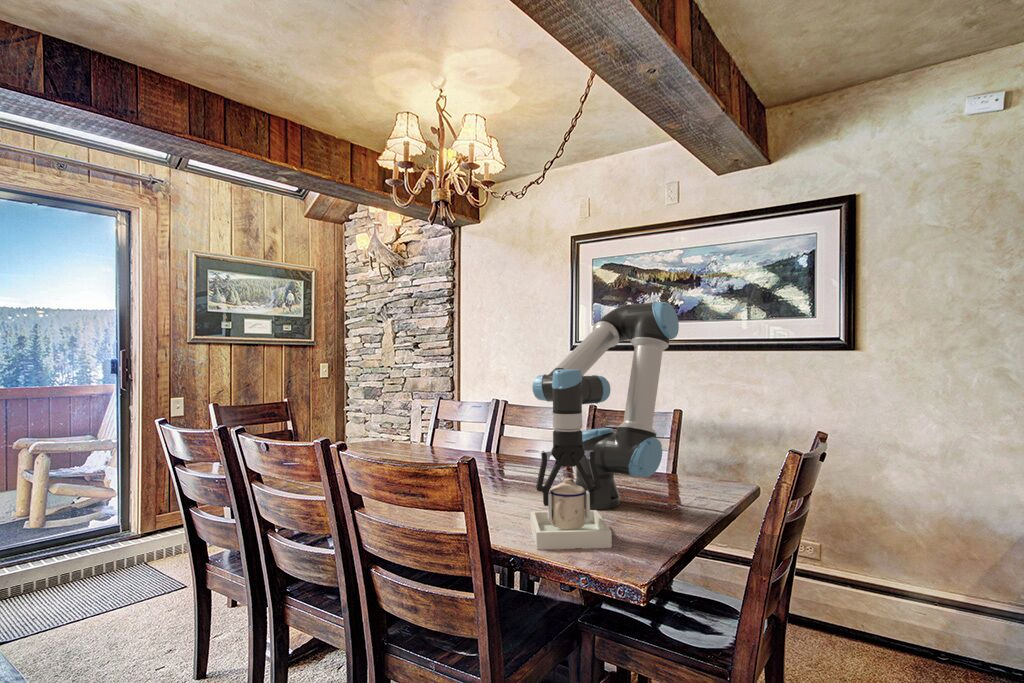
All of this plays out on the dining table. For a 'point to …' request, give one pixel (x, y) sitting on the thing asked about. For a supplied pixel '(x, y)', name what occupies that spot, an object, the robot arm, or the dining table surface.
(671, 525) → the dining table surface
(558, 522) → the teacup with lid
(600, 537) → the tray
